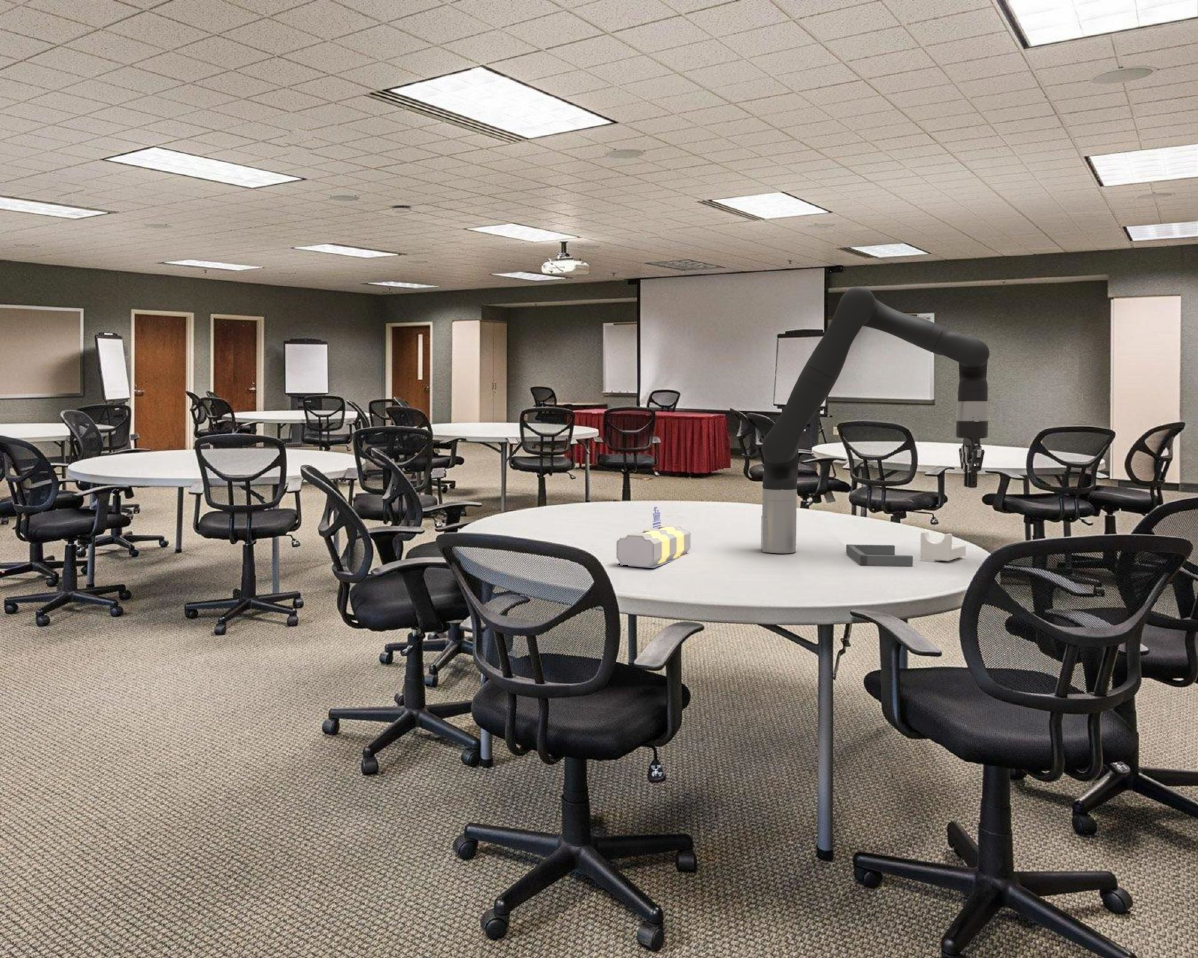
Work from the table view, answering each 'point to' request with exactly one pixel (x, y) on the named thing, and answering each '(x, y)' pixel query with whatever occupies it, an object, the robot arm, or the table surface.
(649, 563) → the grey yellow banded block
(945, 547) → the bracket
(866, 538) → the table surface
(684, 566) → the table surface
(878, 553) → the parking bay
